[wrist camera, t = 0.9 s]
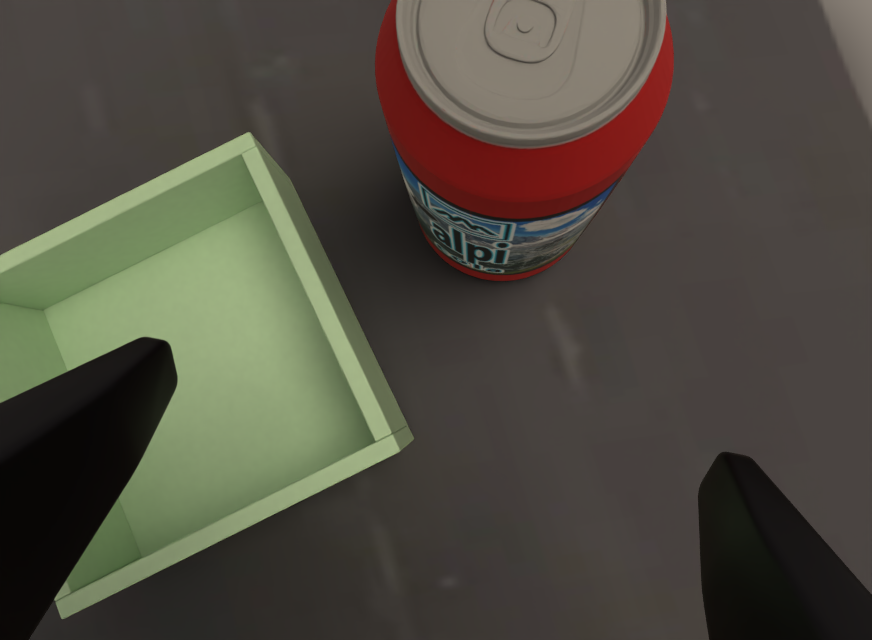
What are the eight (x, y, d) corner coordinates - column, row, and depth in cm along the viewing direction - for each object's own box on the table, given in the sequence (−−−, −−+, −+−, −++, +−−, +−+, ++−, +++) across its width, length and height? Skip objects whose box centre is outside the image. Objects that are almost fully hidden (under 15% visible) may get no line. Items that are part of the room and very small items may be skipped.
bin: (414, 439, 23) (400, 451, 18) (141, 575, 23) (60, 620, 18) (290, 178, 24) (249, 130, 20) (34, 305, 24) (-64, 286, 20)
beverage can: (391, 252, 24) (309, 111, 12) (450, 100, 24) (429, -181, 12) (552, 310, 23) (640, 223, 11) (609, 152, 24) (750, -91, 12)
